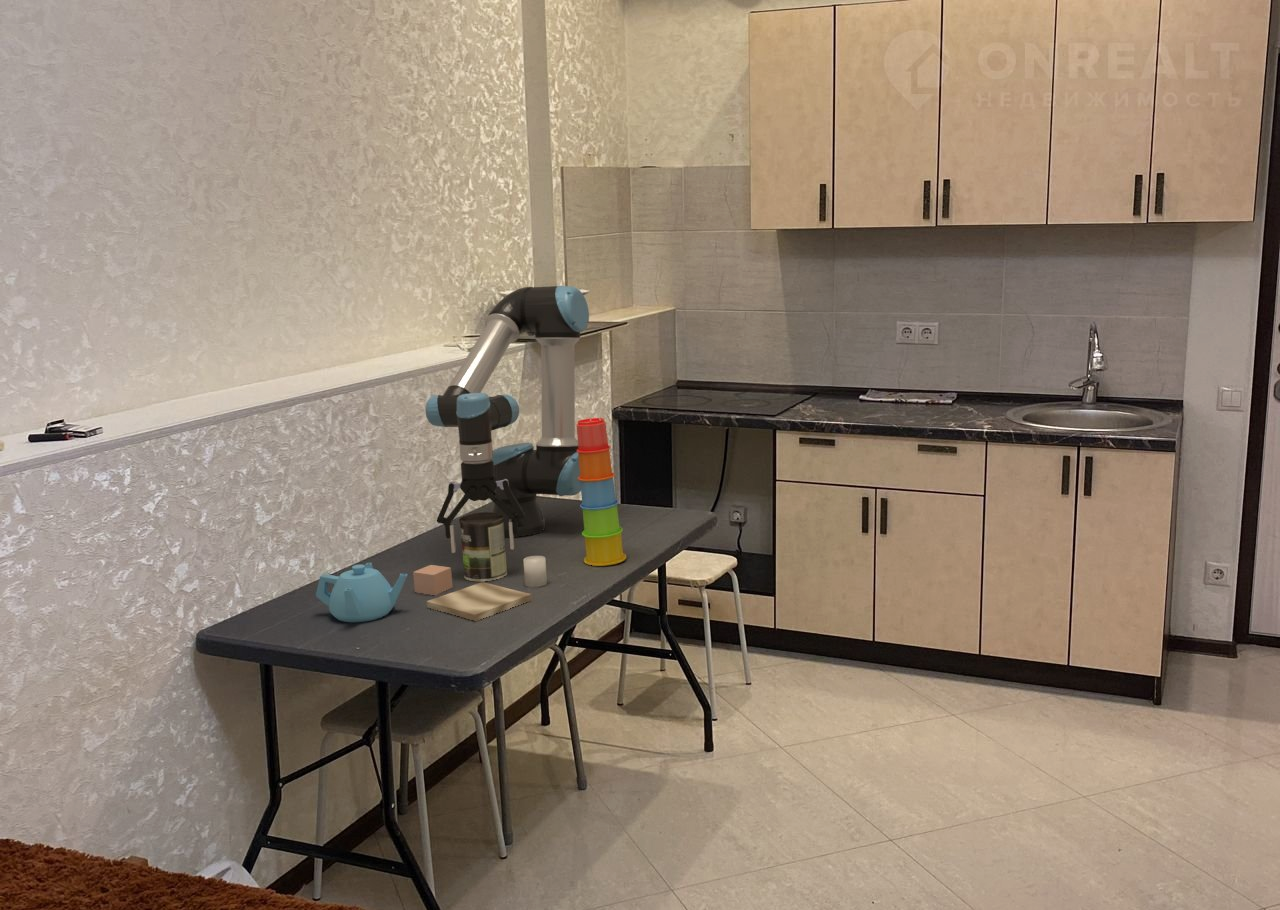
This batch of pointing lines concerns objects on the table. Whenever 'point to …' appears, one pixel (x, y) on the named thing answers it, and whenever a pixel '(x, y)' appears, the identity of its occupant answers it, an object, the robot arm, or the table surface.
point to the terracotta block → (432, 579)
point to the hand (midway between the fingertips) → (483, 549)
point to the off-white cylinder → (535, 571)
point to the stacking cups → (598, 495)
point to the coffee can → (483, 546)
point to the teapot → (359, 594)
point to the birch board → (479, 601)
